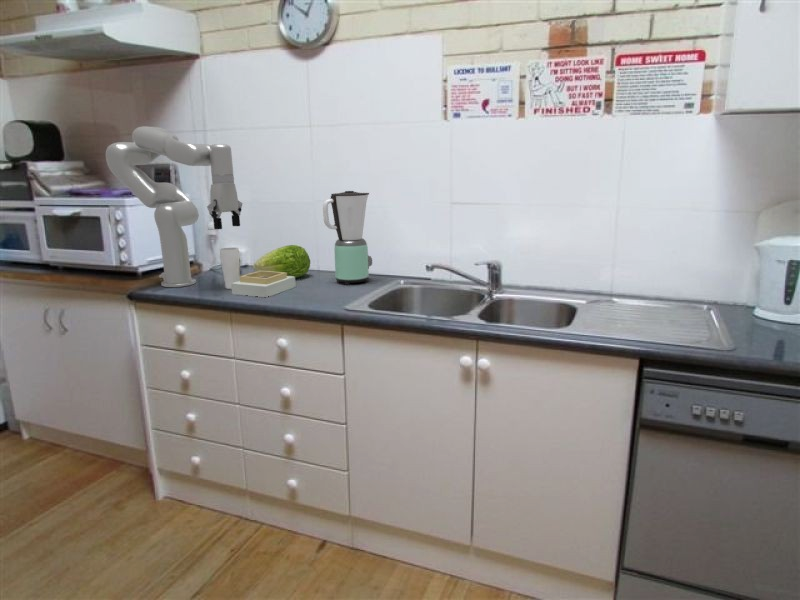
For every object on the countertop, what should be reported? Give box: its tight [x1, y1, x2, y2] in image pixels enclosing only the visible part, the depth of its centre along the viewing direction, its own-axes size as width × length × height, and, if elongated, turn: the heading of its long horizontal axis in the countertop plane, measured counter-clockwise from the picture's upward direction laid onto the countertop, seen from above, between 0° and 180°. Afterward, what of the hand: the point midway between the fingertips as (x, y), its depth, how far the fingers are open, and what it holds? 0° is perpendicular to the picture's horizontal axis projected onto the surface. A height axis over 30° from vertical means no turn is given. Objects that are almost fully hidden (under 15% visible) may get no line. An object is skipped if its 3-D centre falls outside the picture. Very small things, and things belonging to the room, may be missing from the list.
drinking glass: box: [219, 247, 241, 290], centre depth 201 cm, size 7×7×15 cm
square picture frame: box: [231, 271, 297, 298], centre depth 198 cm, size 15×19×6 cm
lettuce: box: [252, 244, 311, 279], centre depth 220 cm, size 15×24×14 cm, turn 72°
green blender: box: [322, 190, 373, 286], centre depth 206 cm, size 19×13×35 cm
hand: (227, 227), depth 197 cm, fingers open, 9 cm apart
